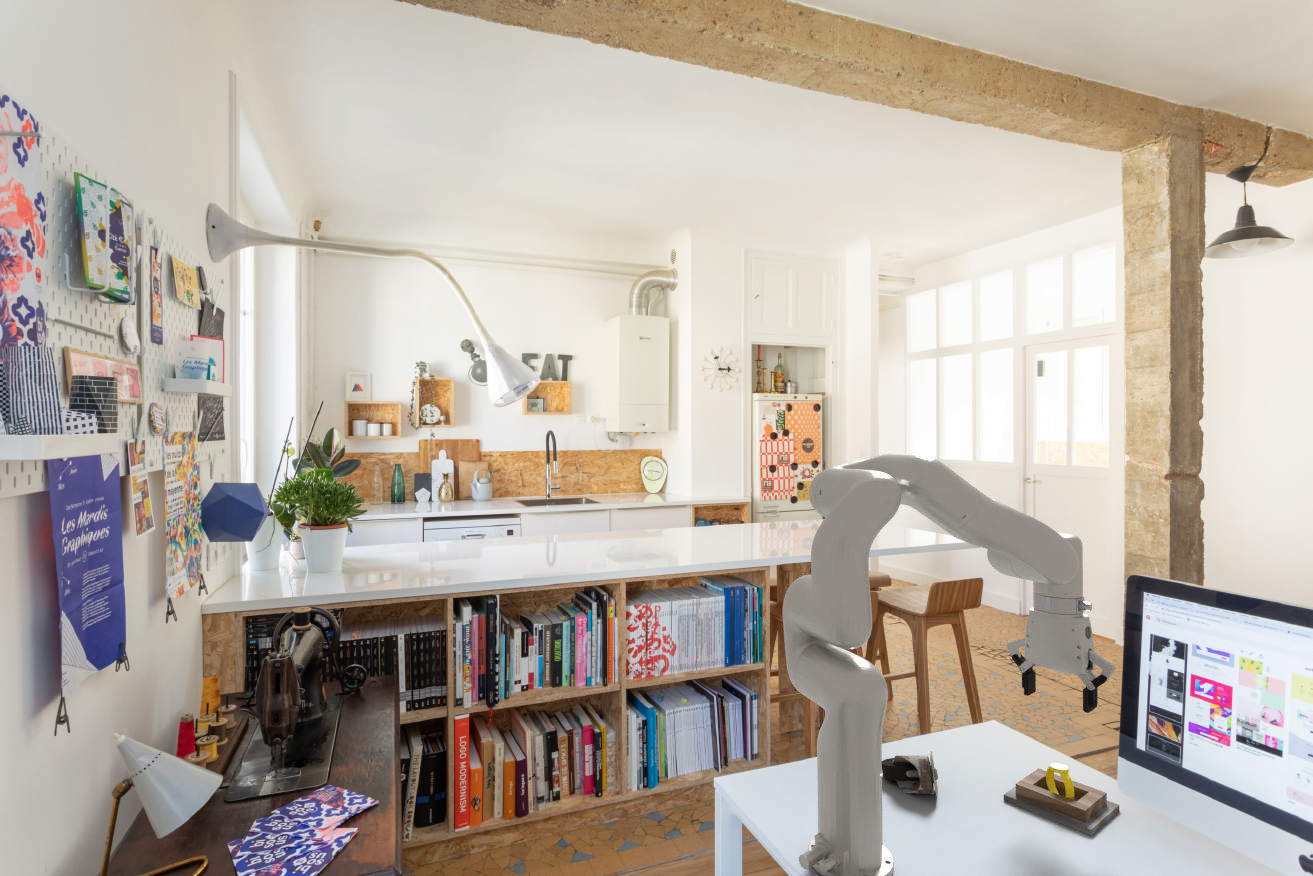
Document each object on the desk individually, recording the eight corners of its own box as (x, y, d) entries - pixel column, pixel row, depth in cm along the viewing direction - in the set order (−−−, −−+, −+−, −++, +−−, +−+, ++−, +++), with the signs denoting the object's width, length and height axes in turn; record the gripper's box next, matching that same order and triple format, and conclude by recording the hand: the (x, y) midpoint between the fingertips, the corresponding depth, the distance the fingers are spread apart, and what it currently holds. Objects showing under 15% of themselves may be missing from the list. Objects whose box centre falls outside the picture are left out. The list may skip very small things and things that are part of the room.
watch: (1042, 793, 123) (1040, 759, 123) (1057, 793, 123) (1055, 758, 123) (1063, 809, 117) (1061, 773, 117) (1079, 808, 117) (1077, 772, 117)
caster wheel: (886, 782, 134) (941, 783, 130) (881, 798, 124) (940, 799, 120) (881, 745, 135) (935, 745, 132) (875, 757, 125) (933, 758, 122)
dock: (1091, 836, 111) (1091, 817, 111) (1003, 800, 122) (1003, 783, 122) (1119, 810, 118) (1119, 793, 118) (1034, 779, 129) (1034, 763, 129)
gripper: (1122, 610, 115) (1123, 712, 115) (1017, 592, 129) (1017, 683, 129) (1105, 617, 111) (1105, 723, 111) (997, 598, 125) (998, 692, 125)
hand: (1058, 701), depth 120 cm, fingers open, 9 cm apart
